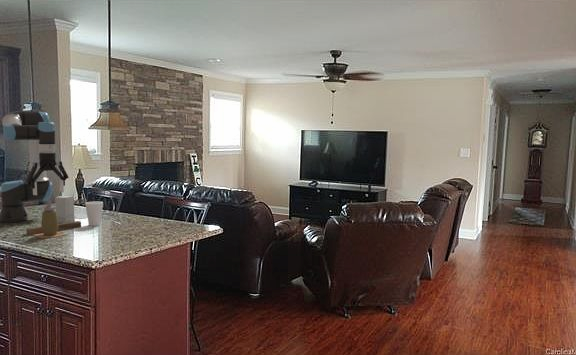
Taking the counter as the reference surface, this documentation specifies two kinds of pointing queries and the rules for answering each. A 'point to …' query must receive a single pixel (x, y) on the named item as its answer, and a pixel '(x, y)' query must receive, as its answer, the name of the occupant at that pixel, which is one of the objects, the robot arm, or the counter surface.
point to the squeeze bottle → (49, 220)
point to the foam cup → (94, 213)
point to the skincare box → (65, 209)
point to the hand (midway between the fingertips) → (48, 193)
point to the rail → (38, 231)
